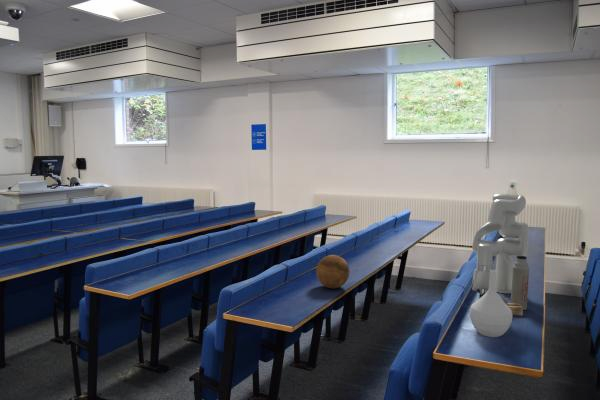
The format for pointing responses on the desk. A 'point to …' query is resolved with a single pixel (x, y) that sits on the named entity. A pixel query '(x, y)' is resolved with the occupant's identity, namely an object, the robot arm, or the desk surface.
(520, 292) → the thermos bottle
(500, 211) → the robot arm
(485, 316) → the vase
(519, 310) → the rail
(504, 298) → the block
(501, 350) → the desk surface
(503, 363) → the desk surface
